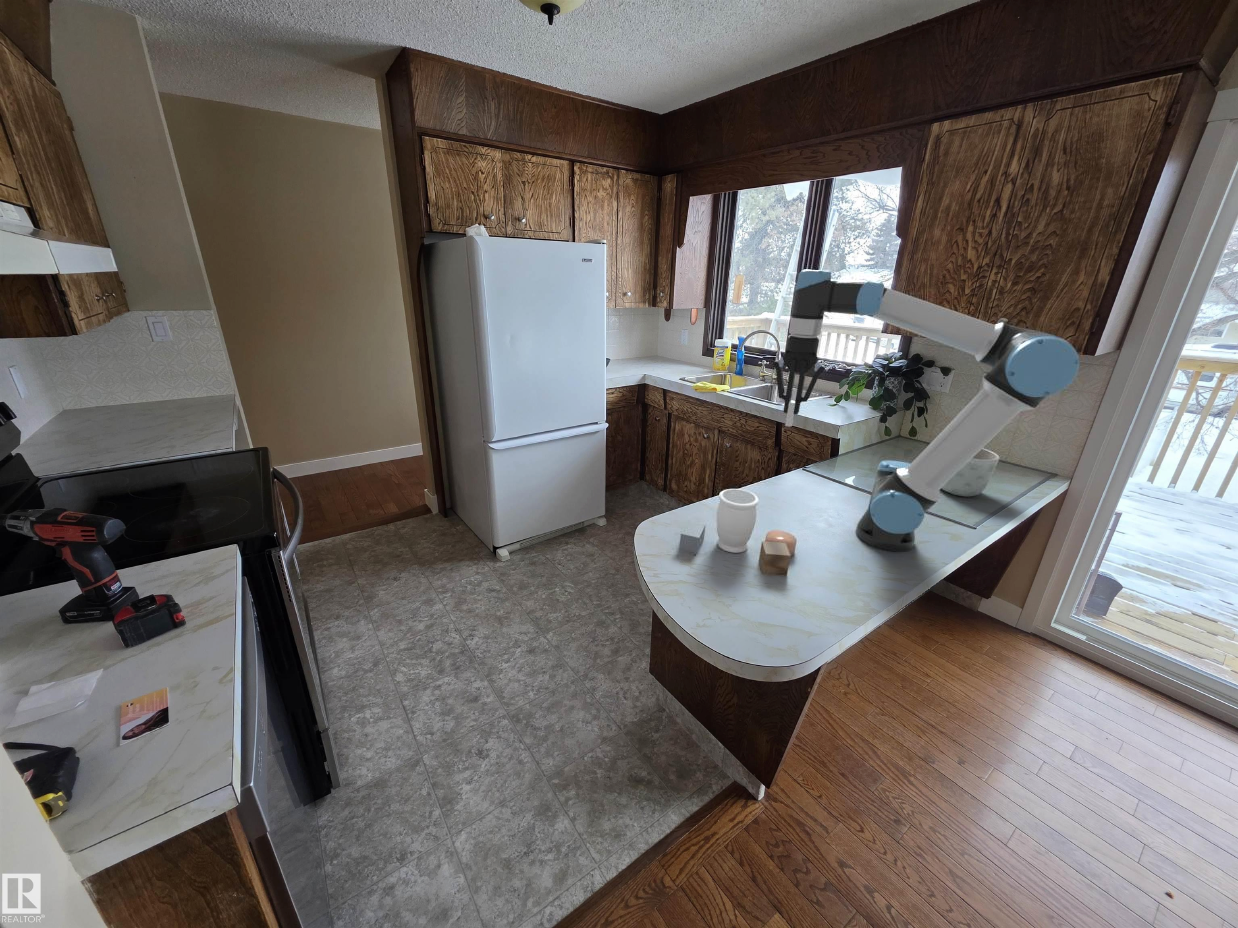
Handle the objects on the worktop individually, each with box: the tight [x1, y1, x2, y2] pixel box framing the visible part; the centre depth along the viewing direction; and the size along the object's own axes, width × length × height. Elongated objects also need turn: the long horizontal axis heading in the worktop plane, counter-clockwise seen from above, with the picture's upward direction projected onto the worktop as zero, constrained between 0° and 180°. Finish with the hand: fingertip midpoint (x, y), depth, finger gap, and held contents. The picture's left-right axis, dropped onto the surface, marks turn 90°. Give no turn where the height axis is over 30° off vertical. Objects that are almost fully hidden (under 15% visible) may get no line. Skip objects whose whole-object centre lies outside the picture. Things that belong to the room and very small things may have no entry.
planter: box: [941, 447, 1000, 497], centre depth 175 cm, size 17×17×15 cm
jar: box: [716, 488, 759, 554], centre depth 135 cm, size 11×10×15 cm
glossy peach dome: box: [764, 530, 798, 558], centre depth 136 cm, size 8×8×4 cm
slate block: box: [678, 520, 706, 554], centre depth 137 cm, size 5×8×5 cm, turn 159°
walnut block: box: [758, 540, 792, 577], centre depth 127 cm, size 6×6×6 cm
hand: (788, 425), depth 134 cm, fingers closed
